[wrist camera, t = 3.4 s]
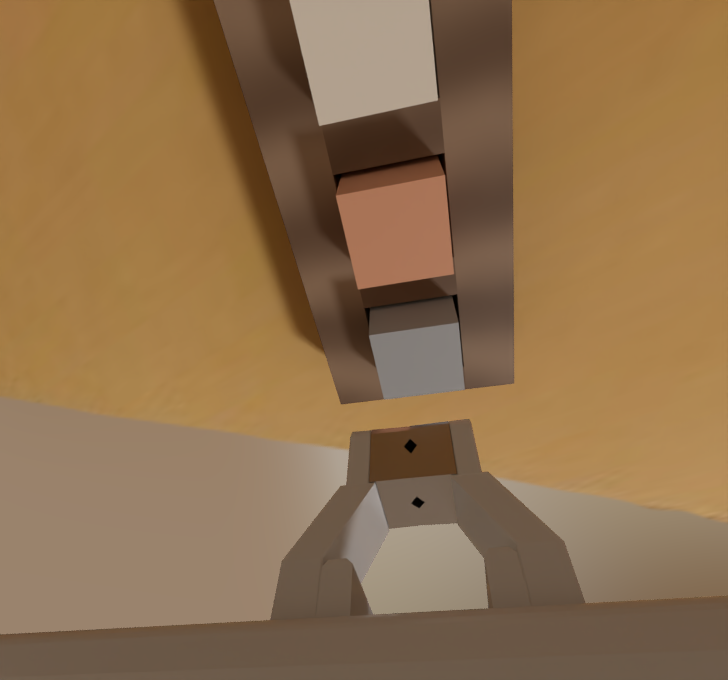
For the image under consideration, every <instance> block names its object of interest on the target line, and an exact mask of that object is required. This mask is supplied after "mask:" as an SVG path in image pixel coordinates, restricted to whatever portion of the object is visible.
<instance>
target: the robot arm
mask: <svg viewBox="0 0 728 680" xmlns="http://www.w3.org/2000/svg"><path fill="white" fill-rule="evenodd" d="M450 523H458V525H459V527H460V528H461V529H462V531H463V532H464V533H465V535H466V536H467V537H468V538H469V540H470V541H471V542H472V543H473V545H474V546H475V547H476V549H477V550H478V551H479V552H480V554H481V555H482V556H483V558H484V562H485V574H486V584H487V596H488V609H469V610H452V611H451V610H450V611H431V612H413V613H395V614H376V615H373V613H372V611H371V608H370V606H369V603H368V601H367V598H366V596H365V593H364V591H363V588H362V586H361V582H362V581H363V579H364V577H365V575H366V573H367V571H368V569H369V567H370V566H371V564H372V562H373V560H374V558H375V556H376V555H377V553H378V551H379V549H380V547H381V545H382V543H383V542H384V540H385V538H386V536H387V534H388V532H389V529H390V528H400V527H408V526H418V525H432V524H450ZM0 680H728V596H713V597H694V598H675V599H657V600H639V601H619V602H601V603H585V600H584V598H583V595H582V592H581V589H580V586H579V583H578V580H577V577H576V575H575V572H574V569H573V566H572V563H571V560H570V557H569V554H568V551H567V549H566V546H565V543H564V541H563V540H562V539H561V538H560V537H559V536H558V535H557V534H555V533H554V532H553V531H552V530H551V529H550V528H549V527H548V526H547V525H545V523H543V522H542V521H541V520H540V519H539V518H538V517H537V516H536V515H535V514H534V513H533V512H531V511H530V510H529V509H528V508H527V507H526V506H525V505H524V504H523V503H522V502H521V501H519V500H518V499H517V498H516V497H515V496H514V495H513V494H512V493H511V492H510V491H509V490H507V489H506V488H505V487H504V486H503V485H502V484H501V483H500V482H499V481H498V480H497V479H495V478H494V477H493V476H492V475H491V474H490V473H489V472H482V471H481V466H480V462H479V457H478V452H477V448H476V443H475V439H474V434H473V430H472V425H471V421H470V420H469V419H464V420H456V421H449V422H448V421H447V422H439V423H431V424H423V425H415V426H410V427H400V428H388V429H377V430H370V431H359V432H352V434H351V437H350V448H349V460H348V471H347V483H346V485H345V486H340V488H339V489H338V490H337V491H336V493H335V494H334V495H333V496H332V498H331V499H330V500H329V502H328V503H327V504H326V505H325V507H324V508H323V509H322V510H321V512H320V513H319V514H318V516H317V517H316V518H315V519H314V521H313V522H312V523H311V525H310V526H309V527H308V528H307V530H306V531H305V532H304V534H303V535H302V536H301V538H300V539H299V540H298V541H297V542H296V544H295V545H294V546H293V548H292V549H291V550H290V551H289V553H288V554H287V555H286V557H285V558H284V559H283V560H282V563H281V568H280V574H279V579H278V584H277V589H276V594H275V599H274V604H273V609H272V614H271V619H270V620H266V621H246V622H230V623H229V622H227V623H211V624H191V625H172V626H153V627H134V628H115V629H96V630H77V631H58V632H39V633H21V634H2V635H1V634H0Z"/></svg>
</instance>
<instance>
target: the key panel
mask: <svg viewBox="0 0 728 680" xmlns="http://www.w3.org/2000/svg"><path fill="white" fill-rule="evenodd" d="M214 3H215V7H216V10H217V13H218V16H219V19H220V22H221V26H222V29H223V32H224V35H225V38H226V41H227V45H228V48H229V51H230V54H231V57H232V60H233V64H234V67H235V70H236V73H237V76H238V79H239V83H240V86H241V89H242V92H243V95H244V98H245V102H246V105H247V108H248V111H249V114H250V117H251V121H252V124H253V127H254V130H255V133H256V136H257V140H258V143H259V146H260V149H261V152H262V155H263V159H264V162H265V165H266V168H267V171H268V174H269V178H270V181H271V184H272V187H273V190H274V193H275V197H276V200H277V203H278V206H279V209H280V212H281V216H282V219H283V222H284V225H285V228H286V231H287V235H288V238H289V241H290V244H291V247H292V250H293V254H294V257H295V260H296V263H297V266H298V269H299V273H300V276H301V279H302V282H303V285H304V288H305V292H306V295H307V298H308V301H309V304H310V307H311V311H312V314H313V317H314V320H315V323H316V326H317V330H318V333H319V336H320V339H321V342H322V345H323V349H324V352H325V355H326V358H327V361H328V364H329V368H330V371H331V374H332V377H333V380H334V383H335V387H336V390H337V393H338V396H339V399H340V402H341V404H348V403H357V402H365V401H373V400H381V399H384V397H383V393H382V389H381V385H380V380H379V376H378V372H377V368H376V364H375V359H374V355H373V351H372V347H371V342H370V338H369V321H370V307H376V306H383V305H389V304H396V303H402V302H409V301H415V300H422V299H429V298H435V297H442V296H448V295H452V296H453V302H454V306H455V310H456V314H457V318H458V322H459V333H460V344H461V354H462V365H463V376H464V387H465V389H472V388H480V387H488V386H496V385H505V384H513V383H514V285H513V129H512V0H429V8H430V19H431V30H432V41H433V52H434V62H435V73H436V84H437V95H438V101H433V102H428V103H424V104H419V105H414V106H410V107H405V108H401V109H396V110H391V111H387V112H382V113H377V114H373V115H368V116H363V117H359V118H354V119H350V120H345V121H340V122H336V123H331V124H326V125H322V126H319V123H318V119H317V115H316V110H315V106H314V102H313V98H312V94H311V89H310V85H309V81H308V77H307V72H306V68H305V64H304V60H303V56H302V51H301V47H300V43H299V39H298V34H297V30H296V26H295V22H294V18H293V13H292V9H291V5H290V1H289V0H214ZM436 154H439V161H440V164H441V166H442V169H443V171H444V174H445V181H446V192H447V203H448V214H449V225H450V235H451V246H452V257H453V268H454V274H452V275H446V276H440V277H433V278H427V279H421V280H414V281H408V282H402V283H396V284H389V285H383V286H377V287H370V288H364V289H358V288H357V283H356V279H355V275H354V271H353V266H352V262H351V258H350V254H349V250H348V245H347V241H346V237H345V233H344V229H343V224H342V220H341V216H340V212H339V207H338V203H337V199H336V193H337V189H338V186H339V182H340V178H341V174H342V173H346V172H351V171H356V170H361V169H366V168H371V167H376V166H381V165H386V164H391V163H396V162H401V161H406V160H411V159H416V158H421V157H426V156H431V155H436Z"/></svg>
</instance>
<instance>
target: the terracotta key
mask: <svg viewBox="0 0 728 680" xmlns="http://www.w3.org/2000/svg"><path fill="white" fill-rule="evenodd" d="M336 199H337V203H338V207H339V212H340V216H341V220H342V224H343V229H344V233H345V237H346V241H347V245H348V250H349V254H350V258H351V262H352V266H353V271H354V275H355V279H356V283H357V288H358V289H364V288H370V287H377V286H383V285H389V284H396V283H402V282H408V281H414V280H421V279H427V278H433V277H440V276H446V275H452V274H454V268H453V257H452V246H451V235H450V225H449V214H448V203H447V192H446V181H445V174H444V171H443V169H442V166H441V164H440V161H439V159H438V156H437V154H436V155H431V156H426V157H421V158H416V159H411V160H406V161H401V162H396V163H391V164H386V165H381V166H376V167H371V168H366V169H361V170H356V171H351V172H346V173H342V174H341V178H340V182H339V186H338V189H337V193H336Z"/></svg>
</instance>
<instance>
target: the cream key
mask: <svg viewBox="0 0 728 680" xmlns="http://www.w3.org/2000/svg"><path fill="white" fill-rule="evenodd" d="M289 1H290V5H291V9H292V13H293V18H294V22H295V26H296V30H297V34H298V39H299V43H300V47H301V51H302V56H303V60H304V64H305V68H306V72H307V77H308V81H309V85H310V89H311V94H312V98H313V102H314V106H315V110H316V115H317V119H318V123H319V126H322V125H326V124H331V123H336V122H340V121H345V120H350V119H354V118H359V117H363V116H368V115H373V114H377V113H382V112H387V111H391V110H396V109H401V108H405V107H410V106H414V105H419V104H424V103H428V102H433V101H438V95H437V84H436V73H435V62H434V52H433V41H432V30H431V19H430V8H429V0H289Z"/></svg>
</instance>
